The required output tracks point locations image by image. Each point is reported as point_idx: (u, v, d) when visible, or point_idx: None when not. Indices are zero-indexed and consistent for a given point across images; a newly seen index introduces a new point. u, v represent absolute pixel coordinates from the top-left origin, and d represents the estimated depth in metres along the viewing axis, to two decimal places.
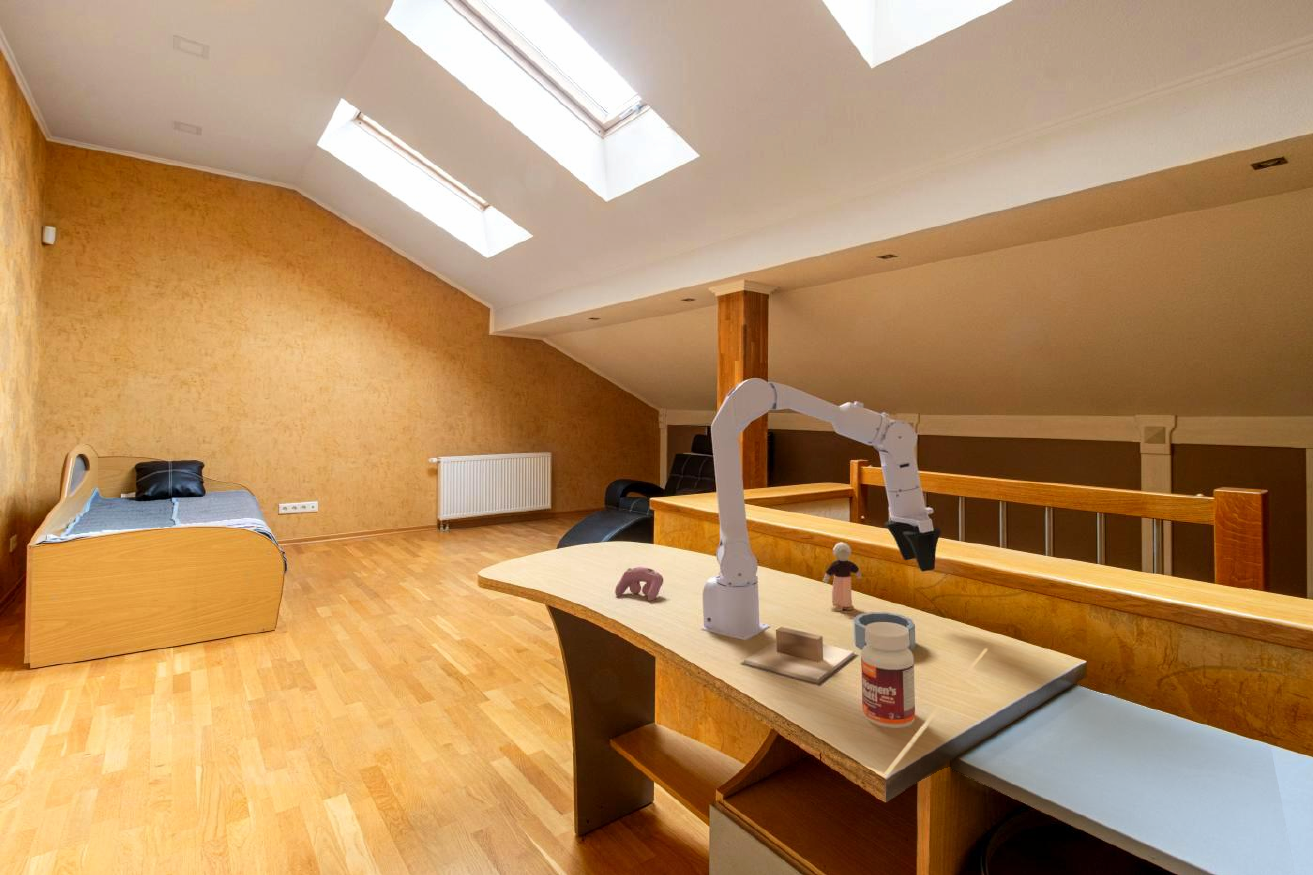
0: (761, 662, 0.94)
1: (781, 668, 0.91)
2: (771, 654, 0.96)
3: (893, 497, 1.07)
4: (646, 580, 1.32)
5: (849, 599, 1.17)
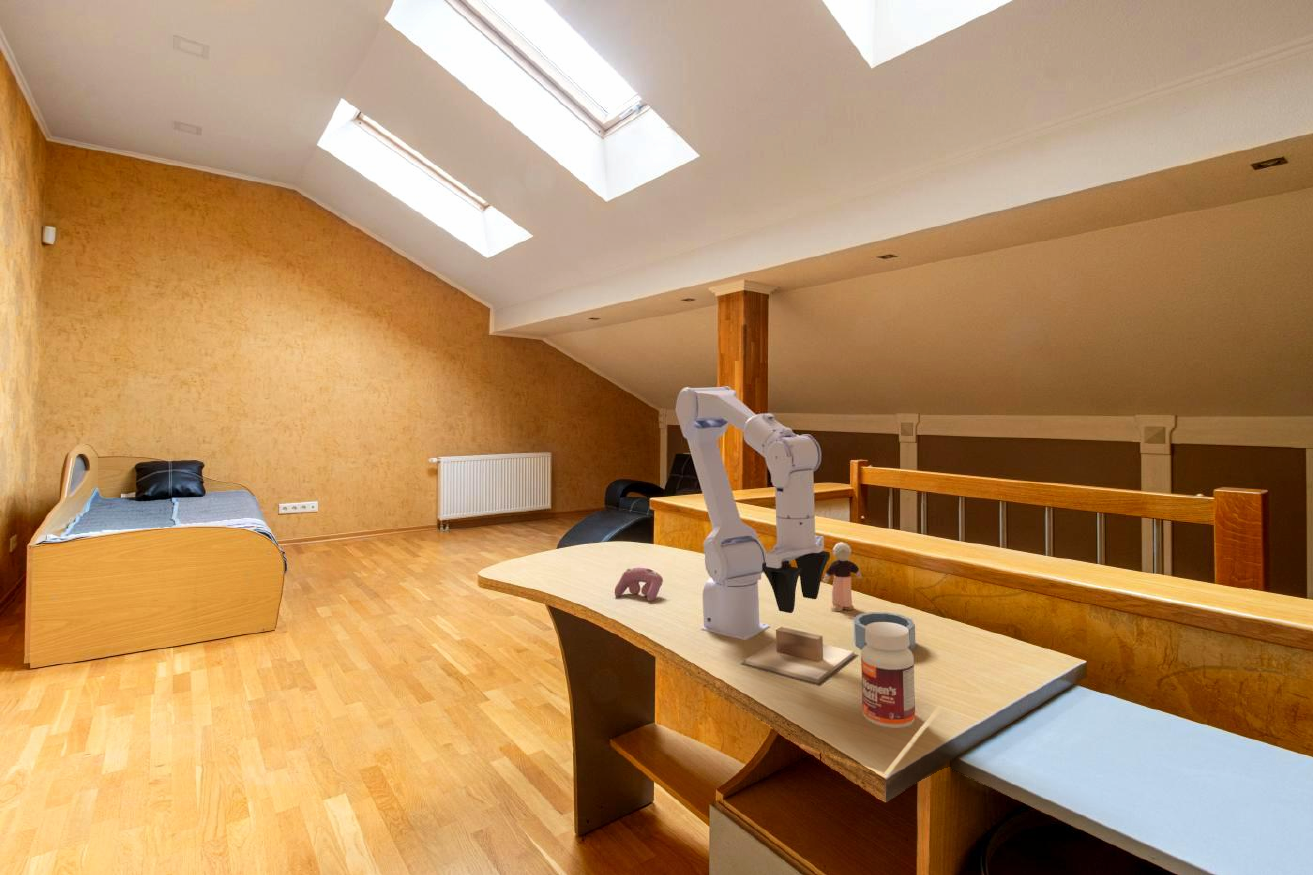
0: (761, 662, 0.94)
1: (781, 668, 0.91)
2: (771, 654, 0.96)
3: (776, 522, 0.95)
4: (645, 580, 1.32)
5: (849, 599, 1.17)
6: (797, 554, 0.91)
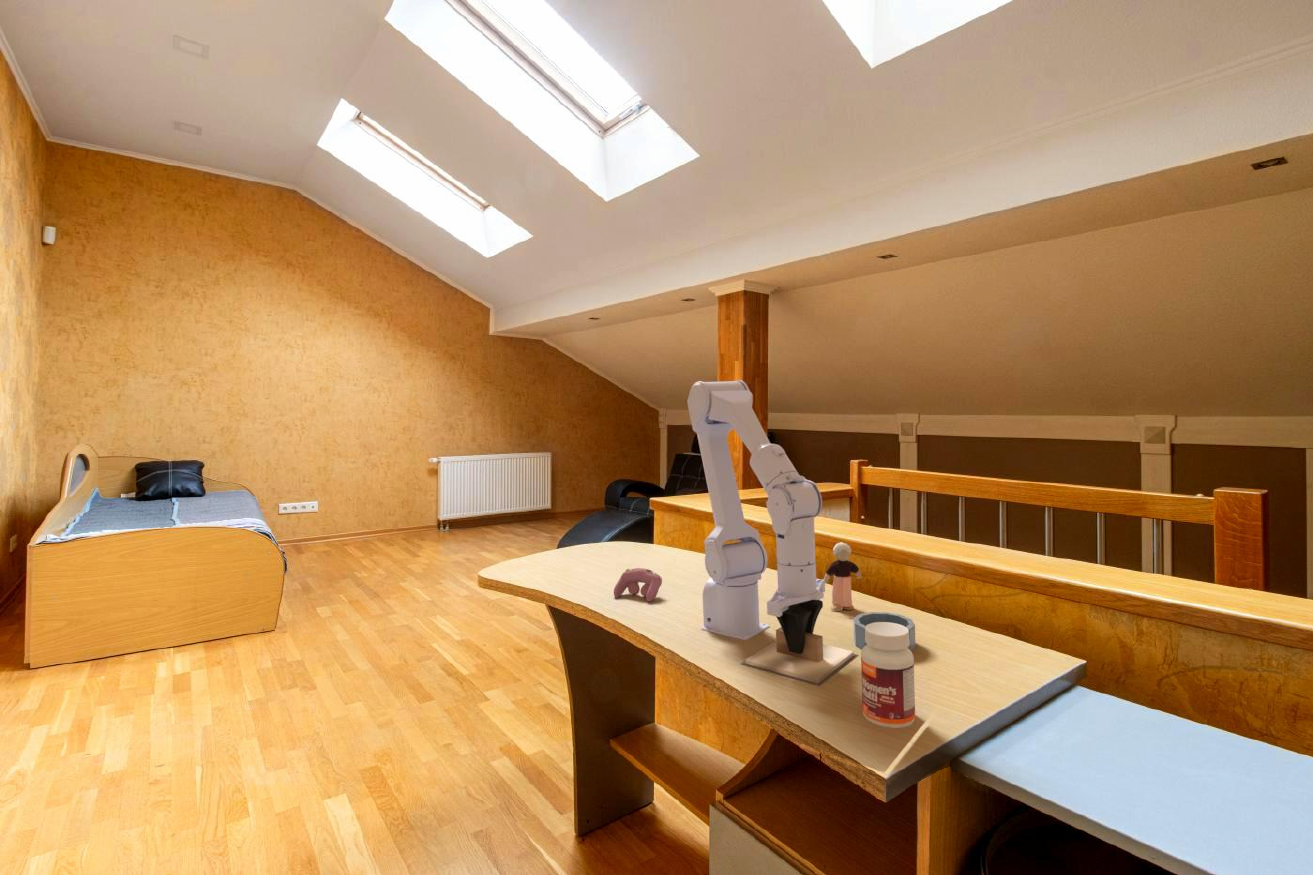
0: (761, 662, 0.94)
1: (781, 668, 0.91)
2: (771, 654, 0.96)
3: (777, 567, 0.95)
4: (645, 581, 1.32)
5: (849, 599, 1.17)
6: (798, 602, 0.91)
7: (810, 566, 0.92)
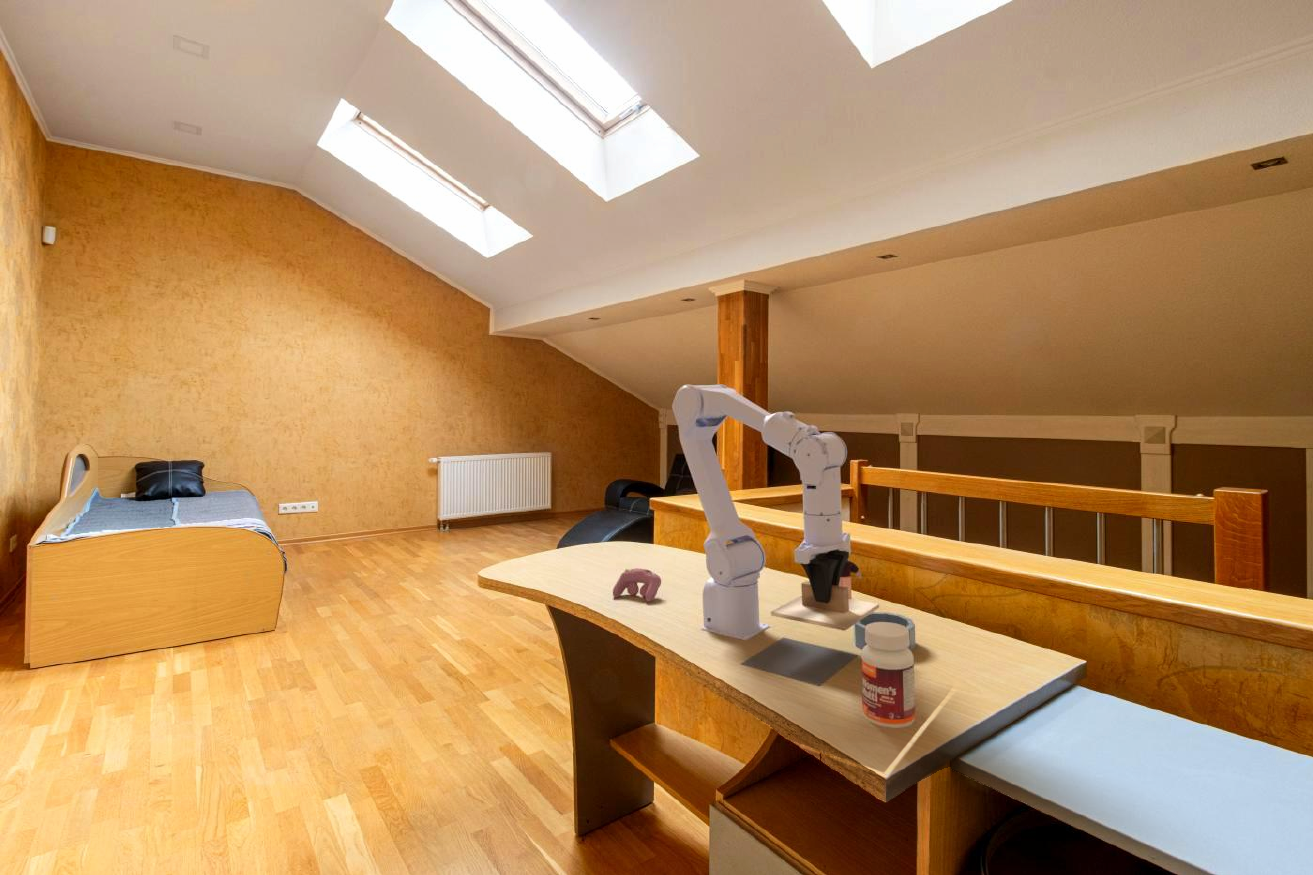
0: (788, 613, 0.95)
1: (807, 618, 0.92)
2: (797, 607, 0.97)
3: None
4: (644, 581, 1.31)
5: None
6: (825, 550, 0.92)
7: (837, 516, 0.93)
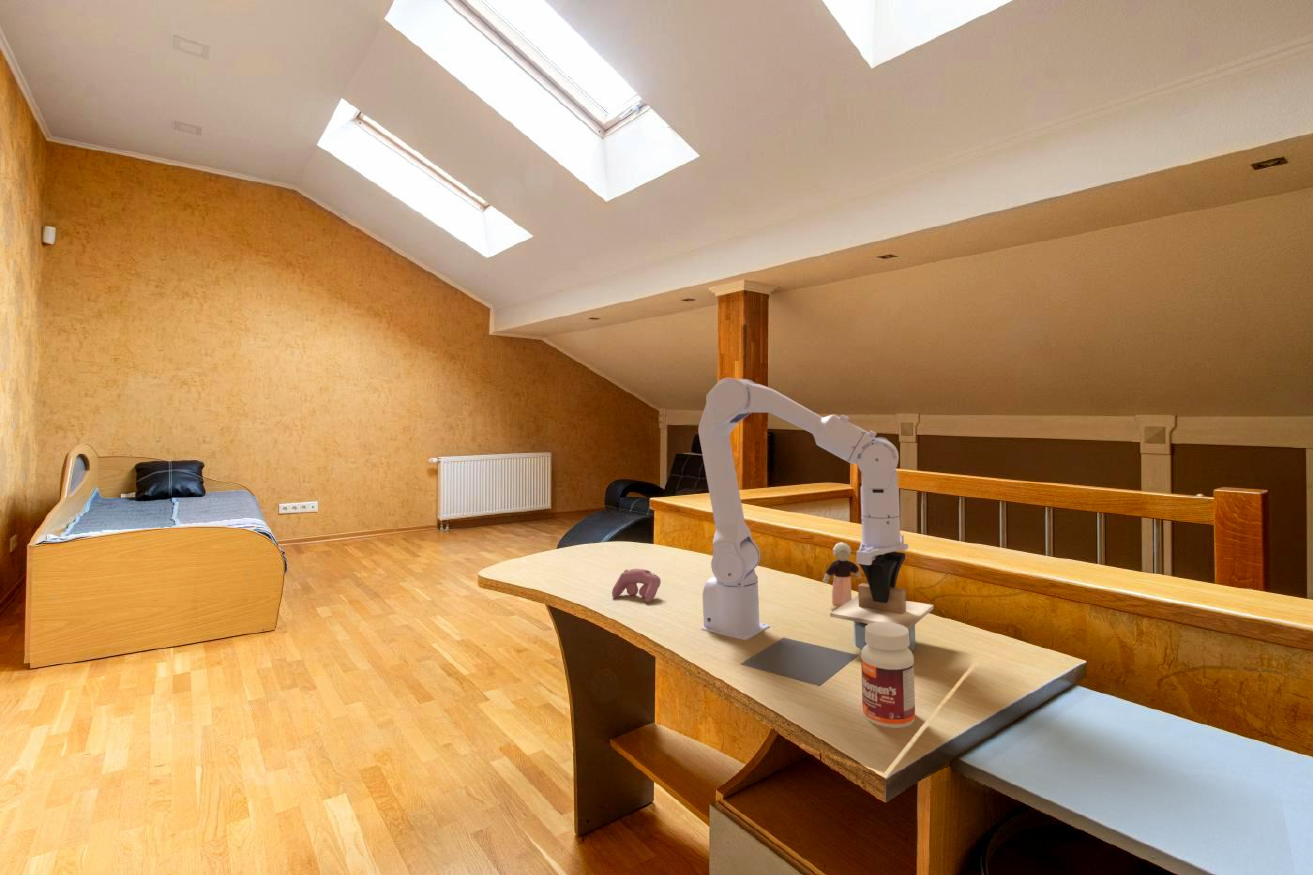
0: (847, 614, 0.98)
1: (868, 619, 0.95)
2: (855, 608, 1.01)
3: None
4: (643, 582, 1.31)
5: (849, 599, 1.17)
6: (885, 552, 0.95)
7: (896, 518, 0.97)
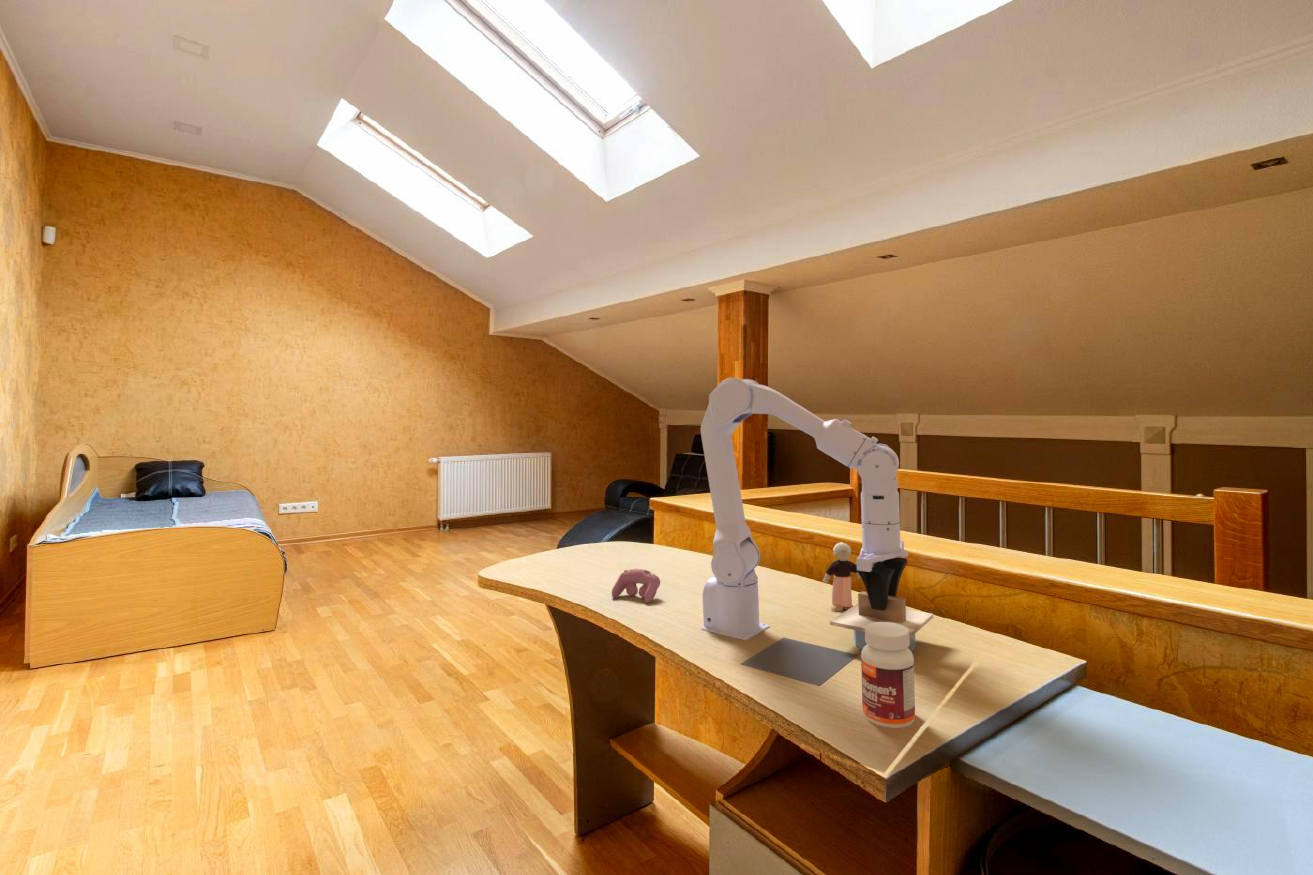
0: (847, 623, 0.98)
1: None
2: (854, 617, 1.01)
3: (862, 527, 1.00)
4: (643, 582, 1.31)
5: (849, 599, 1.17)
6: (885, 558, 0.95)
7: (896, 525, 0.97)
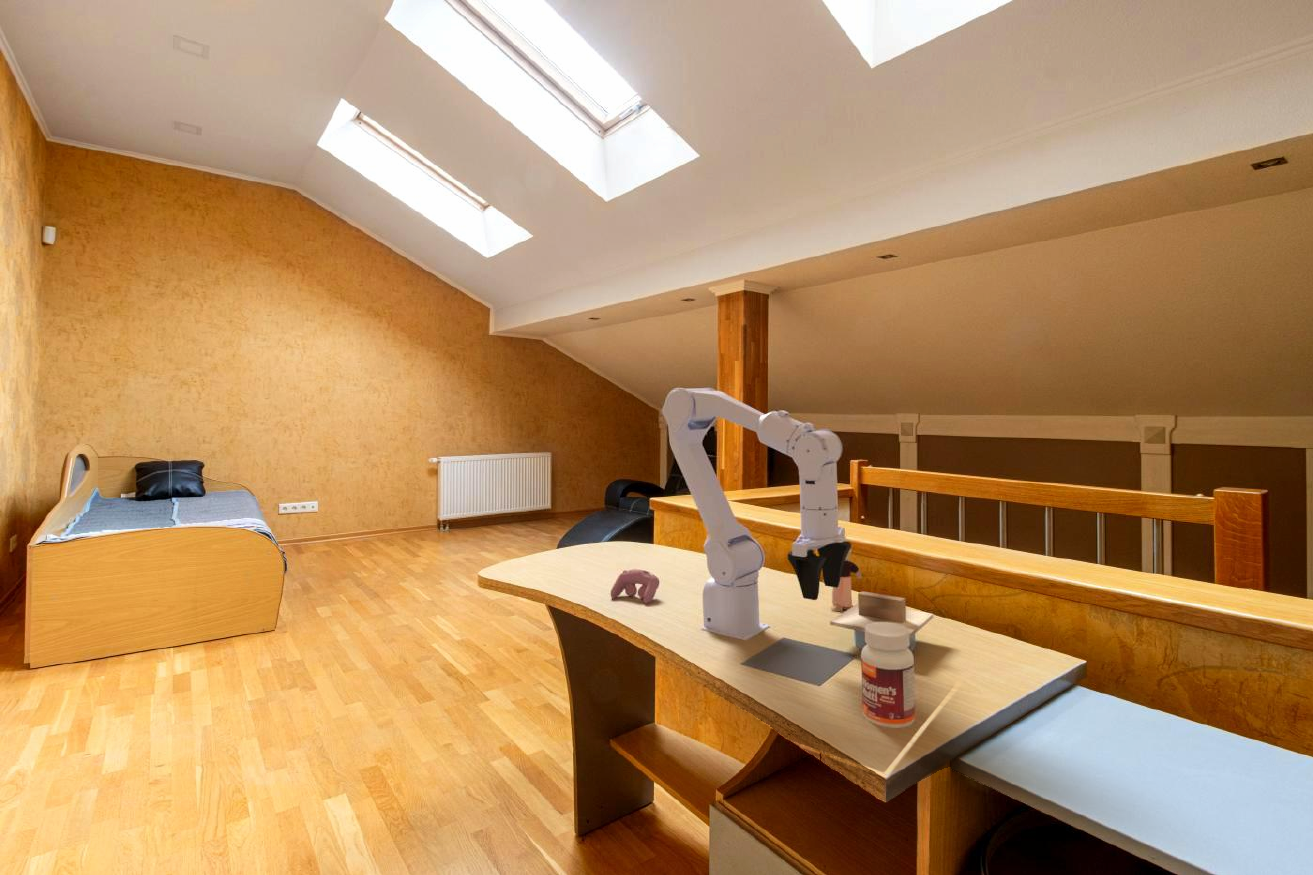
0: (847, 623, 0.98)
1: None
2: (854, 617, 1.01)
3: None
4: (642, 582, 1.31)
5: (849, 599, 1.17)
6: (821, 544, 0.95)
7: (833, 510, 0.96)
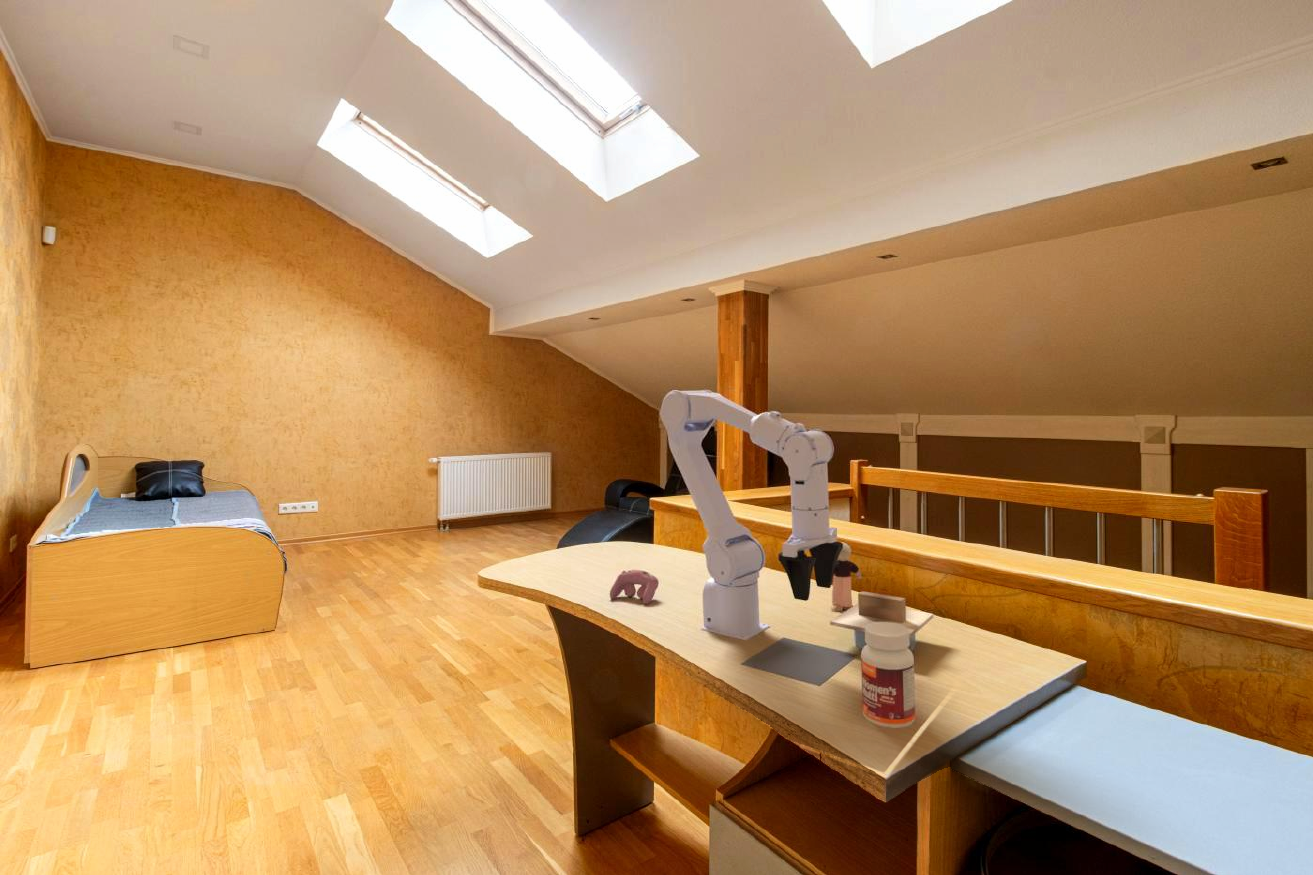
0: (847, 623, 0.98)
1: None
2: (854, 617, 1.01)
3: None
4: (641, 583, 1.30)
5: (849, 599, 1.17)
6: (812, 544, 0.94)
7: (824, 510, 0.96)
